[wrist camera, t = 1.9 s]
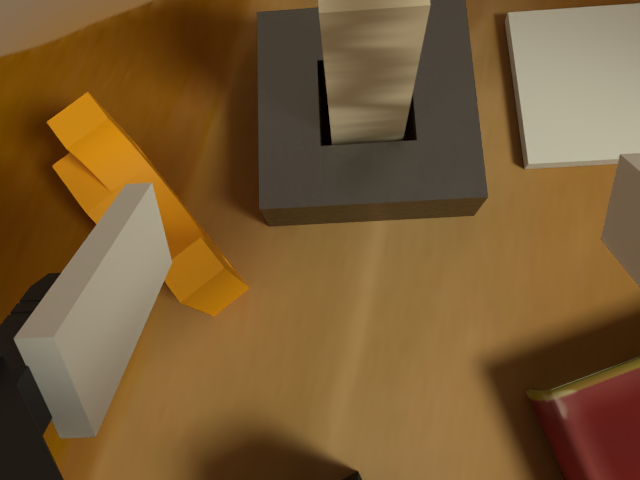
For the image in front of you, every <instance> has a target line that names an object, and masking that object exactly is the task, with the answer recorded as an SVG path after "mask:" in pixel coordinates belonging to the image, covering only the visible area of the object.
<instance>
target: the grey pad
mask: <svg viewBox="0 0 640 480" xmlns="http://www.w3.org/2000/svg"><path fill="white" fill-rule="evenodd" d="M505 27H506V34H507V42H508V49H509V57H510V64H511V72H512V79H513V87H514V95H515V102H516V110H517V117H518V125H519V132H520V140H521V147H522V155H523V162H524V169H534V168H552V167H569V166H587V165H605V164H618V160H619V156H620V154H631V153H640V3H635V4H621V5H607V6H592V7H578V8H564V9H550V10H536V11H522V12H508V14H507V16H506V19H505Z"/></svg>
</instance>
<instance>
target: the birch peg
mask: <svg viewBox="0 0 640 480" xmlns="http://www.w3.org/2000/svg"><path fill="white" fill-rule="evenodd" d="M318 5H319V20H320V30H321V40H322V50H323V59H324V69H325V79H326V89H327V99H328V109H329V119H330V129H331V139H332V145H346V144H363V143H379V142H396V141H403V138H404V133H405V128H406V123H407V118H408V113H409V108H410V103H411V99H412V94H413V89H414V84H415V79H416V74H417V69H418V64H419V59H420V55H421V50H422V45H423V40H424V35H425V30H426V25H427V20H428V15H429V11H430V6H431V4H430V0H318Z"/></svg>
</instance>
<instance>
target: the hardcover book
mask: <svg viewBox="0 0 640 480" xmlns="http://www.w3.org/2000/svg"><path fill="white" fill-rule="evenodd" d="M526 393H527V395H528V397H529V400H530V402H531V404H532V407H533V409H534V411H535V413H536V416H537V418H538V420H539V422H540V425H541V427H542V429H543V432H544V434H545V436H546V438H547V441H548V443H549V445H550V448H551V450H552V452H553V454H554V457H555V459H556V461H557V463H558V466H559V468H560V470H561V473H562V475H563V477H564V479H565V480H640V356H638V357H636V358H633V359H630V360H628V361H625V362H622V363H620V364H617V365H614V366H612V367H609V368H607V369H604V370H601V371H599V372H596V373H593V374H591V375H588V376H585V377H583V378H580V379H577V380H575V381H572V382H569V383H567V384H564V385H561V386H559V387H556V388H553V389H551V390H535V389H533V388H531V389H529V390H526Z"/></svg>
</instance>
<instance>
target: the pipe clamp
mask: <svg viewBox="0 0 640 480" xmlns="http://www.w3.org/2000/svg"><path fill="white" fill-rule="evenodd" d="M47 123H48V125H49V126H50V128H51V129H52V130H53V132H54V133H55V134H56V136H57V137H58V138H59V140H60V141H61V142H62V144H63V145H64V146H65V148H66V149H67V150H68V151H70V153H69V154H67V155H66V156H64V157H63V158H62V159H60V160H59V161H58V162H56V163H55V164H54V165H52V167H53V168H54V170H55V171H56V172H57V174H58V175H59V177H60V178H61V179H62V181H63V182H64V184H65V185H66V186H67V188H68V189H69V190H70V192H71V193H72V195H73V196H74V197H75V199H76V200H77V201H78V203H79V204H80V206H81V207H82V208H83V210H84V211H85V212H86V213H87V215H88V216H89V217H90V218H91V219H92V220H93V221H94V222H95V223H96V225H97V223H98V222H99V220H100V219H101V218H102V216H103V215H104V214H105V212H106V211H107V210H108V208H109V207H110V205H111V204H112V203H113V201H114V200H115V199H116V197H117V196H118V194H119V193H120V192H121V190H122V189H123V188H124V186H125V185H126V184H136V183H152V184H153V188H154V192H155V196H156V200H157V204H158V208H159V212H160V216H161V220H162V224H163V228H164V232H165V236H166V240H167V244H168V248H169V252H170V256H171V260H172V264H171V266H170V269H169V271H168V273H167V276H166V278H165V280H164V282H165V283H166V284H167V286H168V287H169V288H170V290H171V291H172V292H173V294H174V295H175V296H176V298H177V299H178V300H179V302H180V303H182V304H184V305H187V306H189V307H192V308H194V309H196V310H199V311H201V312H204V313H206V314H209V315H211V316H215V315H216V314H218V313H219V312H220V311H221V310H223V309H224V308H225V307H226V306H228V305H229V304H230V303H231V302H233V301H234V300H235V299H236V298H238V297H239V296H240V295H242V294H243V293H244V292H245V291H247V290H248V289H249V287H248V286H247V284H246V283H245V282H244V281H243V279H242V278H241V277H240V275H239V274H238V273H237V272H236V270H235V269H234V268H233V267H232V265H231V264H230V263H229V261H228V260H227V259H226V258H225V256H224V255H223V254H222V252H221V251H220V250H219V249H218V247H217V246H216V245H215V244H214V242H213V241H212V240H211V238H210V237H209V236H208V235H207V233H206V232H205V231H204V229H203V228H202V227H201V226H200V224H199V223H198V222H197V221H196V219H195V218H194V217H193V215H192V214H191V213H190V212H189V210H188V209H187V208H186V206H185V205H184V204H183V203H182V201H181V200H180V199H179V197H178V196H177V195H176V194H175V192H174V191H173V190H172V189H171V187H170V186H169V185H168V183H167V182H166V181H165V180H164V178H163V177H162V176H161V174H160V173H159V172H158V171H157V169H156V168H155V167H154V166H153V164H152V163H151V162H150V160H149V159H148V158H147V157H146V155H145V154H144V153H143V151H142V150H141V149H140V148H139V146H138V145H137V144H136V142H135V141H134V140H133V139H132V138H131V137H130V136H129V135H128V134H127V133H126V132H125V131H124V130H123V129H122V128H121V127H120V125H119V124H118V123H117V122H116V121H115V120H114V119H113V118H112V117H111V116H110V115H109V114H108V113H107V112H106V111H105V110H104V109H103V108H102V106H101V105H100V104H99V103H98V102H97V101H96V100H95V99H94V98H93V97H92V96H91V95H90V94H89V93H88V92H87V93H86V94H84V95H83V96H81V97H80V98H79V99H77V100H76V101H75V102H73V103H72V104H70V105H69V106H68V107H66V108H65V109H64V110H62V111H61V112H59V113H58V114H57V115H55V116H54V117H53V118H51V119H50V120H48V121H47Z"/></svg>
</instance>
